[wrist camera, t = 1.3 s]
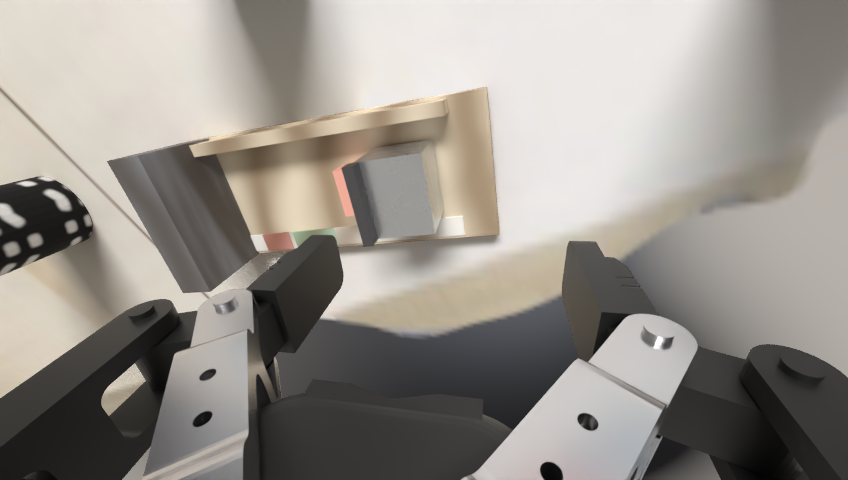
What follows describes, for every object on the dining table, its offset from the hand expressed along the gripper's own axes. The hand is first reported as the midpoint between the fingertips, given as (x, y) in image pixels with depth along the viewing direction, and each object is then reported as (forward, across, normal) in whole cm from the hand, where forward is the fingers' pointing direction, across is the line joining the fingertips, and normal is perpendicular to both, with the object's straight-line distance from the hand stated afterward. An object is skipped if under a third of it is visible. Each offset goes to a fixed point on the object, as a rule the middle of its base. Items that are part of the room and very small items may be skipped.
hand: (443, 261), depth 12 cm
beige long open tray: (+19, +12, +3) cm, 23 cm away
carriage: (+17, +6, +2) cm, 18 cm away
